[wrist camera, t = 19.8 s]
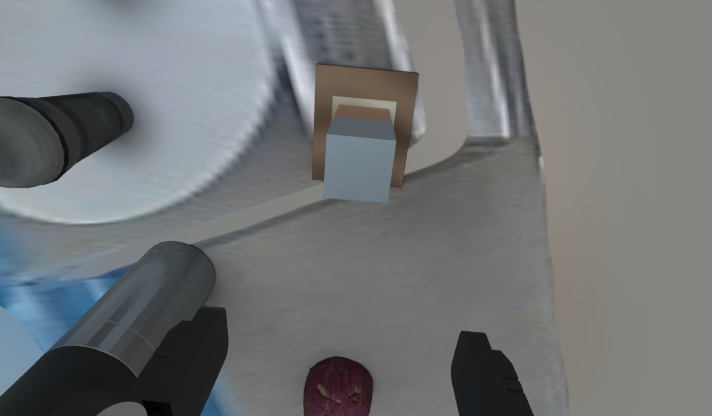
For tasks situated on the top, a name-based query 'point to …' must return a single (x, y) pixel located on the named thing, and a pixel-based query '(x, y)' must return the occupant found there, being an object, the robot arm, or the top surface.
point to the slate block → (359, 160)
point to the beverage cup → (55, 134)
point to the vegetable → (338, 389)
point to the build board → (369, 92)
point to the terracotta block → (363, 112)
